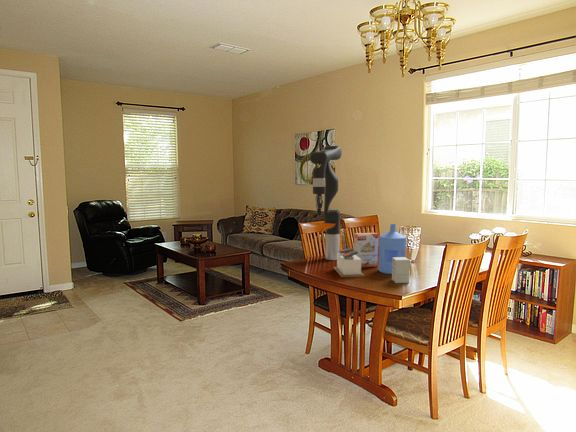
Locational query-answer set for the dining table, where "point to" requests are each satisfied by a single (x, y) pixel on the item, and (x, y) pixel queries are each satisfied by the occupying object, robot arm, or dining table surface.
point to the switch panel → (348, 266)
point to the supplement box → (400, 269)
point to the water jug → (390, 249)
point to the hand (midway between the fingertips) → (318, 215)
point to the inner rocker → (346, 250)
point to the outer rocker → (350, 254)
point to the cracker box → (366, 248)
